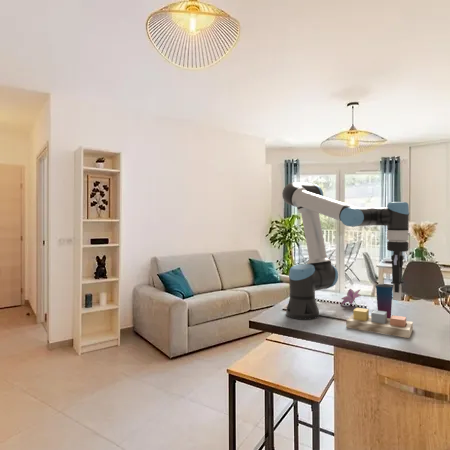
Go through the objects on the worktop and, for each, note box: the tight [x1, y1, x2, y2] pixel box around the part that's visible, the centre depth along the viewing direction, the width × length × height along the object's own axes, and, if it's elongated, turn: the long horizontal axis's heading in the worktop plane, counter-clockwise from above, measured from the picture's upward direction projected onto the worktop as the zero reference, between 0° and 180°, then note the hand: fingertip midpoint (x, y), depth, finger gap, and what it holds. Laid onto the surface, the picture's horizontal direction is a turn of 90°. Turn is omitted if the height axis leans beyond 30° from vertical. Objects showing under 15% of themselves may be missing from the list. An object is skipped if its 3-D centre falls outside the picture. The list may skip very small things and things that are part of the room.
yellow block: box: [352, 307, 370, 321], centre depth 139 cm, size 5×5×4 cm
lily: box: [340, 288, 362, 308], centre depth 168 cm, size 12×12×10 cm
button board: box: [345, 314, 414, 339], centre depth 135 cm, size 23×12×3 cm, turn 55°
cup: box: [375, 283, 393, 318], centre depth 147 cm, size 7×7×15 cm
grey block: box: [370, 309, 387, 324], centre depth 135 cm, size 5×5×4 cm
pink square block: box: [390, 314, 407, 327], centre depth 131 cm, size 5×5×4 cm
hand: (397, 299), depth 131 cm, fingers closed
